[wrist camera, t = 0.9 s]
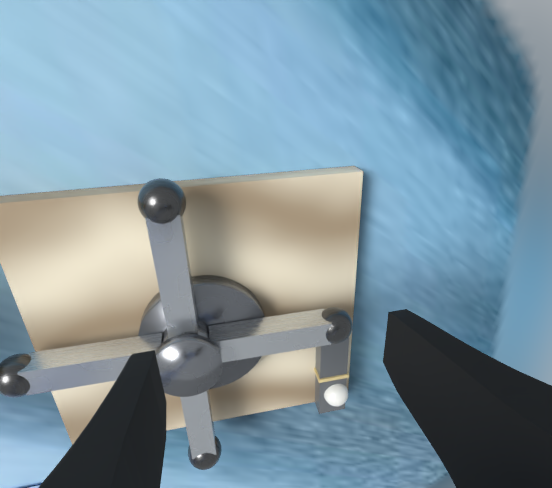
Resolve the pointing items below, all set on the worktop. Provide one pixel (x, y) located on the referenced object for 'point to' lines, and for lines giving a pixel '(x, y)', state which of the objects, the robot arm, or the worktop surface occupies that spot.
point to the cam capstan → (181, 332)
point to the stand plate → (203, 261)
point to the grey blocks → (331, 376)
